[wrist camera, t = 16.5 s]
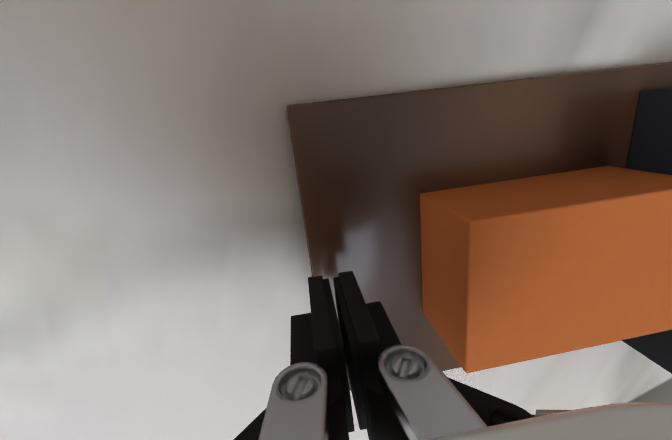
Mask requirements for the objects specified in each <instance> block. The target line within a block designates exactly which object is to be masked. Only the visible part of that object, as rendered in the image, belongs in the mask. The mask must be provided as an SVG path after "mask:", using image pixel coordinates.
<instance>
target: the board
mask: <svg viewBox="0 0 672 440" xmlns="http://www.w3.org/2000/svg"><path fill="white" fill-rule="evenodd" d="M668 87H672V62H670V63H661V64H652V65H643V66H634V67H625V68H616V69H607V70H598V71H589V72H581V73H572V74H563V75H554V76H545V77H536V78H527V79H518V80H509V81H500V82H491V83H482V84H473V85H464V86H455V87H447V88H438V89H429V90H420V91H411V92H402V93H393V94H384V95H375V96H366V97H357V98H348V99H339V100H330V101H321V102H312V103H304V104H295V105H288V106H287V112H288V119H289V126H290V132H291V139H292V145H293V152H294V159H295V165H296V172H297V179H298V185H299V192H300V199H301V205H302V212H303V219H304V225H305V232H306V239H307V245H308V252H309V258H310V265H311V272H312V277H315V276H321V275H322V276H323V279H327V278H329V282H330V287H331V291H332V295H333V300H334V304H335V309H336V313H337V306H336V298H335V290H334V282H333V277H338V273H340V272H346V271H353V273H354V275H355V278H356V280H357V283H358V285H359V288H360V290H361V293H362V295H363V298H364V300H365V303H372V302H378V301H380V302H381V303H382V305H383V307H384V309H385V311H386V313H387V316H388V318H389V320H390V322H391V324H392V326H393V328H394V330H395V332H396V334H397V336H398V338H399V340H400V342H401V344H408V345H413V346H416V347H418V348H420V349H422V350H424V351H425V352H426V353H427V354H428V355H429V356H430V357H431V358H432V359H433V361H434V362H435V363H436V364H437V365H438V367H439V368H440V369H441V370H442V371H445V370H449V369H454V368H459V367H461V365H460V364H459V362H458V361H457V359H456V358H455V357H454V355H453V354H452V352H451V351H450V350H449V348H448V347H447V345H446V344H445V342H444V341H443V340H442V338H441V337H440V335H439V334H438V333H437V331H436V330H435V328H434V327H433V325H432V324H431V323H430V321H429V320H428V318H427V317H426V315H425V314H424V313H423V292H422V254H421V217H420V194H421V193H426V192H433V191H440V190H447V189H453V188H460V187H467V186H474V185H481V184H487V183H494V182H501V181H508V180H515V179H521V178H528V177H535V176H542V175H548V174H555V173H562V172H569V171H576V170H582V169H589V168H596V167H603V166H612V167H619V168H626V166H627V161H628V155H629V150H630V144H631V139H632V133H633V128H634V122H635V117H636V111H637V106H638V100H639V95H640V92H641V91H643V90H651V89H659V88H668ZM337 317H338V314H337ZM347 374H348V373H347ZM348 382H349V377H348ZM349 390H351V386H350V382H349Z"/></svg>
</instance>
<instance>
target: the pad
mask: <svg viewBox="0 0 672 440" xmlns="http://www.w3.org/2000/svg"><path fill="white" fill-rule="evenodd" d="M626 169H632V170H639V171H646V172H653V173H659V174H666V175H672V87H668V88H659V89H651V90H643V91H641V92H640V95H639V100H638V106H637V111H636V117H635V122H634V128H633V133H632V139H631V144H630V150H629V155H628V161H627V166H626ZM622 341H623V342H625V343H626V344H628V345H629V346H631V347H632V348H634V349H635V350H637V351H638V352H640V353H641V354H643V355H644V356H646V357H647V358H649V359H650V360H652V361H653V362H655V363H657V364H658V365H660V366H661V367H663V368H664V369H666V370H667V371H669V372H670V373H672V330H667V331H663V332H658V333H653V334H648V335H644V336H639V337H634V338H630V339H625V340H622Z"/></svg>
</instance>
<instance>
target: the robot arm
mask: <svg viewBox="0 0 672 440" xmlns="http://www.w3.org/2000/svg"><path fill="white" fill-rule="evenodd" d="M333 282H334V290H335V298H336V306H337V313H336V309H335V304H334V300H333V295H332V291H331V287H330V282H329V278H327V279H323V276H322V275H321V276H315V277H309V278H308V284H309V294H310V305H311V313H307V314H301V315H295V316H291V362H290V366H288V367H287V368H285V369H284V370H282V371H281V372H280V373H279V374H278V376H277V377H276V378H275V380H274V383H273V385H272V389H271V393H270V397H269V401H268V405H267V408H266V409H265V410H264V411H263V412H262V413H261V414H260V415H259V416H258V417H257V418H256V419H255V420H254V421H253V422H251V423H250V424H249V425H248V426H247V427H246V428H245V429H244V430H243V431H242V432H241V433H240V434H239V435H238V436H237V437H236V438H235V439H234V440H349V435H348V432H353V431H354V423H353V415H352V407H351V399H350V391H349V382H350V386H351V391H352V396H353V400H354V405H355V409H356V414H357V419H358V423H359V428H360V430H362V429H367V432H368V436H369V440H672V404H671V403H649V402H636V403H620V404H609V405H603V406H597V407H590V408H582V409H576V410H536V415H531V414H530V413H528V412H527V411H526V410H524V409H522V408H520V407H518V406H516V405H514V404H512V403H509V402H507V401H504V400H502V399H499V398H497V397H494V396H492V395H489V394H487V393H485V392H482V391H480V390H477V389H475V388H472V387H470V386H467V385H465V384H462V383H460V382H457V381H455V380H453V379H450V378H448V377H447V376H446V375H445V374H444V373H443V372H442V370H441V369H440V368H439V367H438V365H437V364H436V363H435V362H434V361H433V359H432V358H431V357H430V356H429V355H428V354H427V353H426V352H425V351H424V350H422V349H420V348H418V347H416V346H413V345H408V344H401V342H400V340H399V338H398V336H397V334H396V332H395V330H394V328H393V326H392V324H391V322H390V320H389V318H388V316H387V313H386V311H385V309H384V307H383V305H382V303H381V302H380V301H378V302H372V303H365V300H364V298H363V295H362V293H361V290H360V288H359V285H358V283H357V280H356V278H355V275H354V273H353V271H346V272H340V273H338V277H333ZM337 314H338V317H337ZM347 373H348V374H347ZM348 377H349V382H348Z"/></svg>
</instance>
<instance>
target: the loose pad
mask: <svg viewBox="0 0 672 440" xmlns="http://www.w3.org/2000/svg"><path fill="white" fill-rule="evenodd" d="M420 217H421V254H422V292H423V313H424V314H425V315H426V317H427V318H428V320H429V321H430V323H431V324H432V325H433V327H434V328H435V330H436V331H437V333H438V334H439V335H440V337H441V338H442V340H443V341H444V342H445V344H446V345H447V347H448V348H449V350H450V351H451V352H452V354H453V355H454V357H455V358H456V359H457V361H458V362H459V364H460V365H461V367H462V368H463V369H464V371H465V372H466V373H470V372H474V371H479V370H484V369H489V368H493V367H498V366H503V365H507V364H512V363H517V362H521V361H526V360H531V359H536V358H540V357H545V356H550V355H554V354H559V353H564V352H569V351H573V350H578V349H583V348H587V347H592V346H597V345H601V344H606V343H611V342H616V341H620V340H625V339H630V338H634V337H639V336H644V335H648V334H653V333H658V332H663V331H667V330H672V175H666V174H659V173H653V172H646V171H639V170H632V169H626V168H619V167H612V166H603V167H596V168H589V169H582V170H576V171H569V172H562V173H555V174H548V175H542V176H535V177H528V178H521V179H515V180H508V181H501V182H494V183H487V184H481V185H474V186H467V187H460V188H453V189H447V190H440V191H433V192H426V193H421V194H420Z"/></svg>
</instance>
